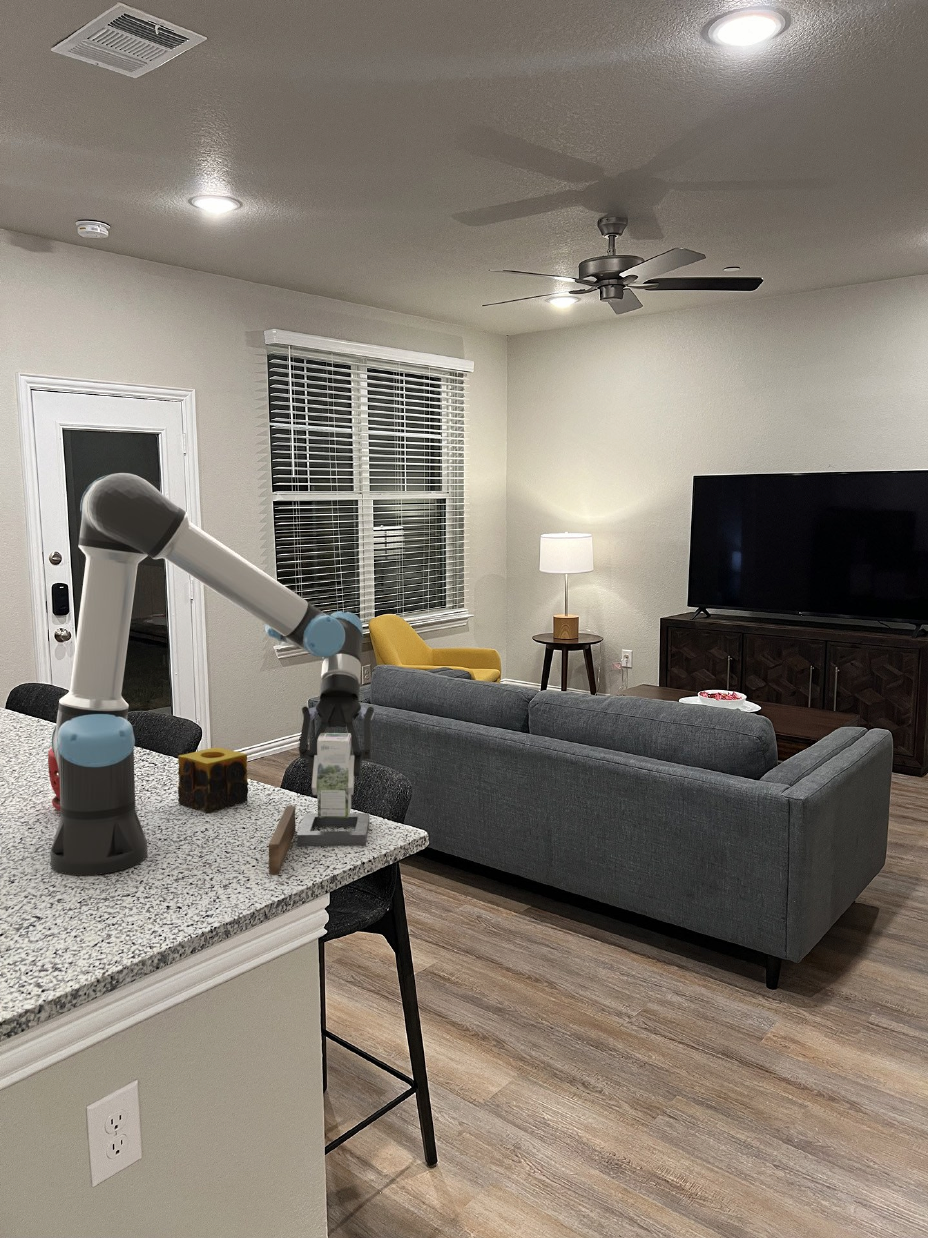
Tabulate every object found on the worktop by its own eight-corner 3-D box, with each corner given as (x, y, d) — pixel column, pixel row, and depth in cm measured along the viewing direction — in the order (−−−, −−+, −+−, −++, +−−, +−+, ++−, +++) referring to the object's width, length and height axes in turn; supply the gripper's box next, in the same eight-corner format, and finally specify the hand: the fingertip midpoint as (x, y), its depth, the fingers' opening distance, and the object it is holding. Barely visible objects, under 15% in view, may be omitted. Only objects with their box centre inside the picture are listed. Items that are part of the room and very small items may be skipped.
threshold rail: (268, 874, 152) (268, 844, 151) (286, 832, 171) (286, 806, 171) (278, 874, 152) (278, 844, 151) (295, 832, 171) (295, 806, 171)
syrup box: (351, 808, 173) (351, 731, 172) (348, 819, 168) (348, 739, 166) (320, 808, 173) (320, 731, 172) (316, 819, 167) (316, 739, 166)
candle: (208, 814, 181) (207, 764, 180) (176, 804, 187) (175, 755, 186) (249, 802, 189) (249, 753, 188) (217, 793, 196) (216, 746, 194)
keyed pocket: (297, 846, 165) (296, 835, 164) (305, 823, 176) (305, 813, 176) (365, 845, 165) (365, 834, 165) (369, 823, 177) (369, 813, 177)
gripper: (389, 694, 184) (386, 801, 170) (293, 694, 183) (281, 801, 169) (388, 672, 178) (384, 780, 164) (289, 671, 177) (276, 780, 163)
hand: (332, 791), depth 166 cm, fingers closed on syrup box, 6 cm apart
